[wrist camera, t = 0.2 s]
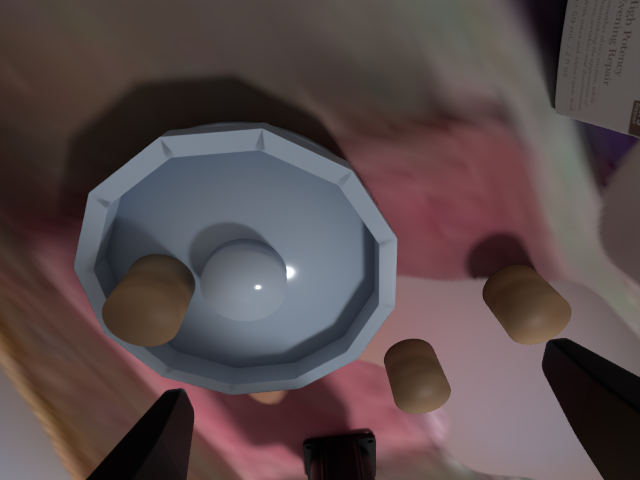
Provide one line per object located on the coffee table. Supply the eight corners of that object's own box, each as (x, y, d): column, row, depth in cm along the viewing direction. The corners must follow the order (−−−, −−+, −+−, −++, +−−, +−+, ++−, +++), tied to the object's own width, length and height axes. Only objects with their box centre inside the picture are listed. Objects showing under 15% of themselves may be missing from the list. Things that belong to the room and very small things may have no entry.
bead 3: (532, 307, 27) (562, 341, 24) (478, 312, 27) (502, 347, 24) (544, 261, 25) (578, 292, 22) (487, 266, 25) (513, 298, 22)
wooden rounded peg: (201, 304, 24) (187, 343, 21) (139, 309, 24) (116, 349, 21) (186, 251, 22) (168, 285, 19) (119, 256, 22) (90, 292, 19)
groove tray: (384, 351, 28) (392, 379, 26) (151, 373, 28) (137, 403, 26) (389, 107, 20) (401, 116, 17) (51, 135, 19) (17, 149, 17)
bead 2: (432, 373, 30) (447, 411, 27) (383, 377, 30) (393, 416, 27) (436, 336, 28) (453, 372, 25) (384, 341, 28) (395, 378, 25)
